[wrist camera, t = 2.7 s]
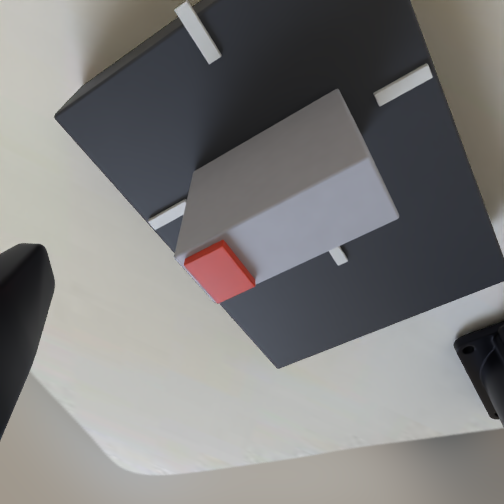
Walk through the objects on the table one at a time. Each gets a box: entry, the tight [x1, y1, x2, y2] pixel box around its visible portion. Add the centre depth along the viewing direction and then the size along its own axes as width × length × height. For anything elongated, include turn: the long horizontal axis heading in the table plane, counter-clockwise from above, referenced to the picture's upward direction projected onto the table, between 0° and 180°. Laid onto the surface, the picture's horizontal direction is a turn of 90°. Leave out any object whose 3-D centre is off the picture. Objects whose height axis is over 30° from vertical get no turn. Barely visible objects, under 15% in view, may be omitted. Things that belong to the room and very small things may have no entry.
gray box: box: [174, 89, 399, 304], centre depth 11 cm, size 4×2×4 cm, turn 122°
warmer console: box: [54, 0, 504, 368], centre depth 15 cm, size 12×9×3 cm
